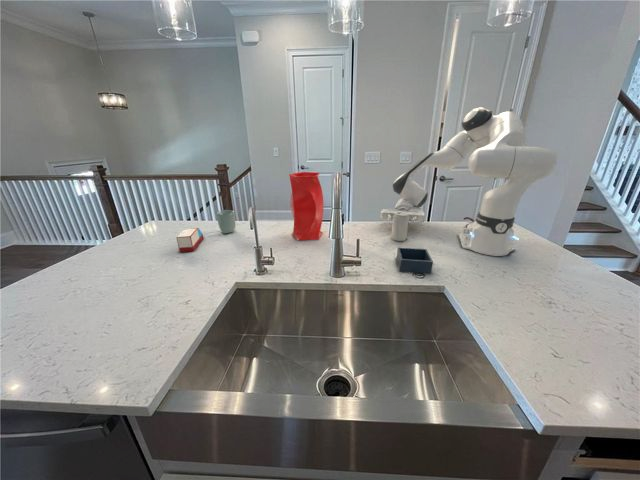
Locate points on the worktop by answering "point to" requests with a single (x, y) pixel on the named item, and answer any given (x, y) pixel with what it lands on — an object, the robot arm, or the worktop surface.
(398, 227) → the beverage can
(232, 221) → the cup
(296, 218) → the vase
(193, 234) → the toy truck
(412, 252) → the tote
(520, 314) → the worktop surface
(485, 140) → the robot arm
